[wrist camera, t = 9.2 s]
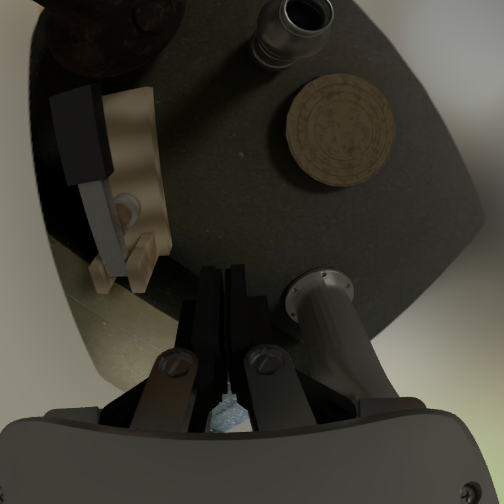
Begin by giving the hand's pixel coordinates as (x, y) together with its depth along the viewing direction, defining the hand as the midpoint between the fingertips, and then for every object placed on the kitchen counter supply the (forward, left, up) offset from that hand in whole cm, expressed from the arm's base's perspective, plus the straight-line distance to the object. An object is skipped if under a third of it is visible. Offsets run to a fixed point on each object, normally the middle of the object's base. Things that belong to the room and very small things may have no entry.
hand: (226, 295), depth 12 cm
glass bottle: (+21, +13, -31) cm, 40 cm away
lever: (0, +15, -22) cm, 26 cm away
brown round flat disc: (+3, -15, -32) cm, 35 cm away
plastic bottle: (+14, -6, -31) cm, 35 cm away
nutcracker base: (-2, +15, -31) cm, 35 cm away
